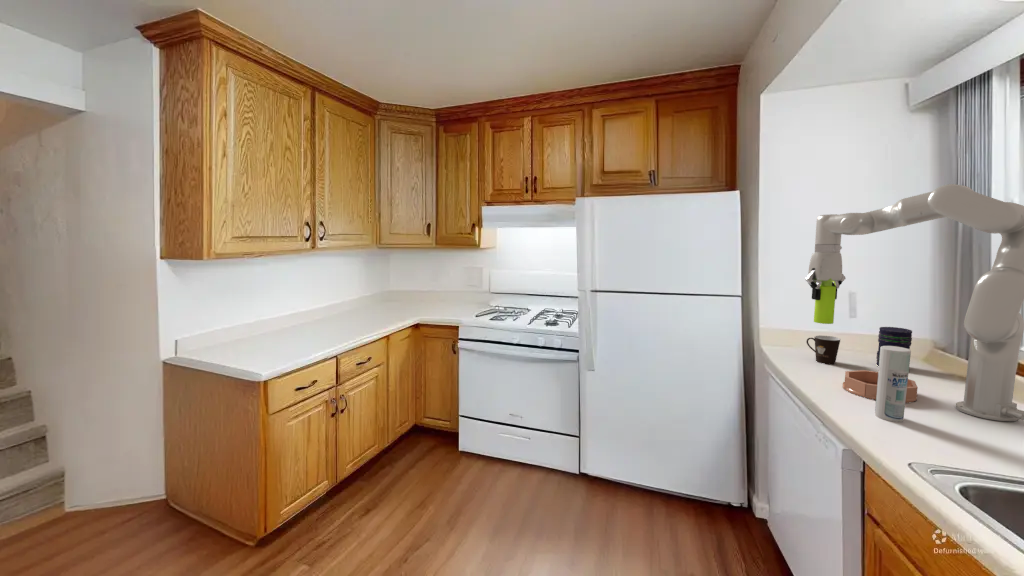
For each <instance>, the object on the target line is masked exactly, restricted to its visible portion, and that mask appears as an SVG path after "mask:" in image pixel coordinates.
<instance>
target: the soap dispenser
mask: <svg viewBox="0 0 1024 576" xmlns="http://www.w3.org/2000/svg"><path fill="white" fill-rule="evenodd" d="M819 289H821V296H820V300H814V315H813V323H815V324H821V325H822V324H823V325H833V324H834V319H835V308H836V304H835V303H836V299H835V294H836V287H834V286H832V279H831V278H830V279H829V280H827V281H822V283H821V285H820V288H819Z"/></svg>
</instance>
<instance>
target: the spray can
mask: <svg viewBox="0 0 1024 576" xmlns="http://www.w3.org/2000/svg"><path fill="white" fill-rule="evenodd" d="M911 354H912V351H911V349H910V350H909V349H907V348H903V347H897V346H881V347H880V358H879V367H878V371H877V372H878V383H877V395H876V400H875V409H874V413H875V416H876V417H877V418H879V419H881V420H884V421H888V422H894V423H896V422H897V423H901V422H903V421H904V418H905V409H906V403H905V401H906V392H907V383H908V379H909V371H910V362H911Z"/></svg>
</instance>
